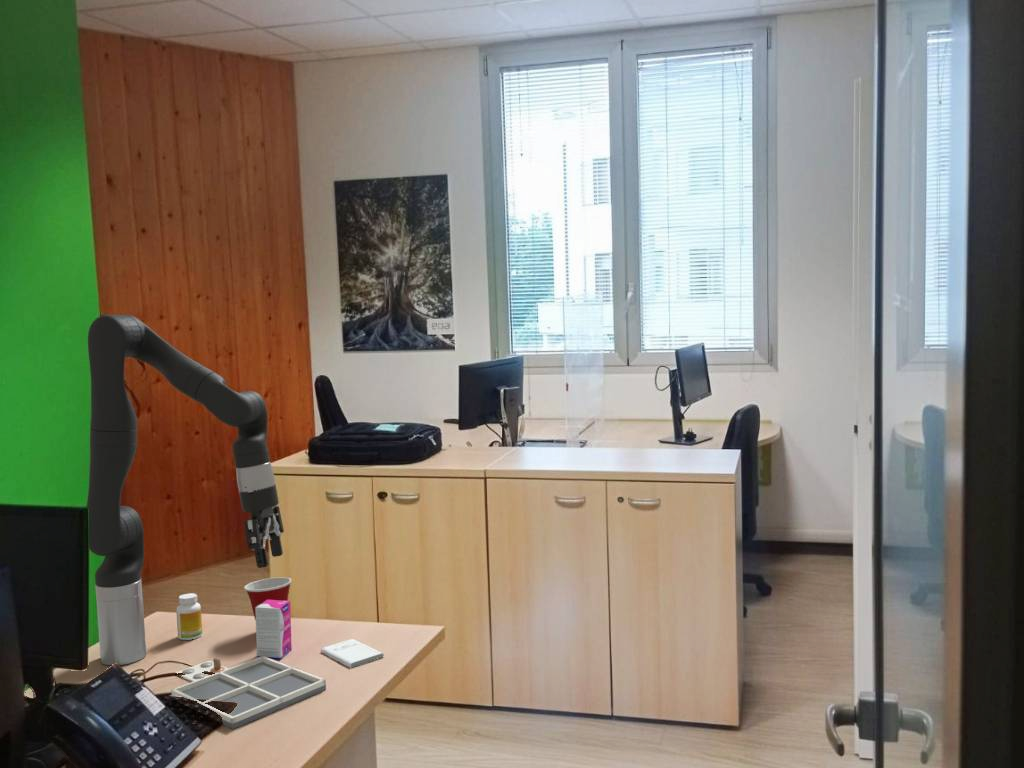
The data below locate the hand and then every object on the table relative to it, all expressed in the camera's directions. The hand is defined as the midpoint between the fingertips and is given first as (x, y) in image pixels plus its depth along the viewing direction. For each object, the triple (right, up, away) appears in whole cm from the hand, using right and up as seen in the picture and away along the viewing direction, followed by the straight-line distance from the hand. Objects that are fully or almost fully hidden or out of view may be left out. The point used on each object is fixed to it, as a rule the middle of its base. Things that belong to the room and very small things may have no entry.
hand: (270, 561), depth 191 cm
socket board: (-1, -24, -13) cm, 27 cm away
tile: (-14, -23, -1) cm, 27 cm away
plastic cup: (-6, -21, +22) cm, 31 cm away
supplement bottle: (-24, -22, +20) cm, 38 cm away
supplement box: (-1, -22, +8) cm, 23 cm away
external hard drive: (+16, -22, +6) cm, 28 cm away
